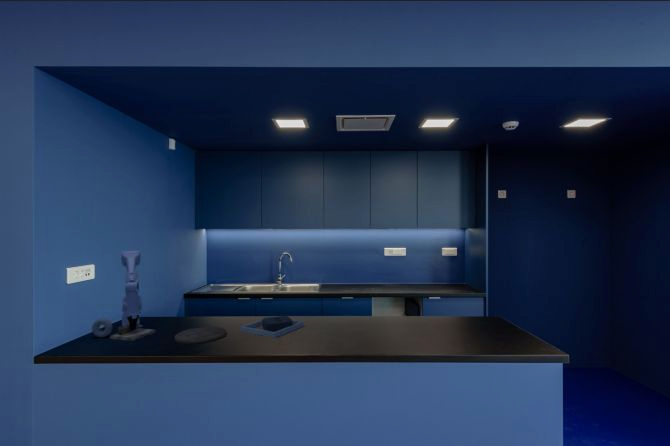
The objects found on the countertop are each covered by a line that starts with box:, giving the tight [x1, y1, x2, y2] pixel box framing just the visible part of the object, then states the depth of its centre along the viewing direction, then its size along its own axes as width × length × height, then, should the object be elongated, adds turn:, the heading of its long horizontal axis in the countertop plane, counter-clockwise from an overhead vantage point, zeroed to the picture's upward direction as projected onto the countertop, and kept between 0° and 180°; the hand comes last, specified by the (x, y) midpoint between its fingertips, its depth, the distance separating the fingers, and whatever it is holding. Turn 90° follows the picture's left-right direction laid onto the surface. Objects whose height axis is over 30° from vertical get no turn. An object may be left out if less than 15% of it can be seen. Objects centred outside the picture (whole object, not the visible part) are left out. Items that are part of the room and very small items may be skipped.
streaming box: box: [261, 315, 293, 332], centre depth 205 cm, size 14×14×5 cm
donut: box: [91, 317, 113, 338], centre depth 197 cm, size 10×4×10 cm, turn 93°
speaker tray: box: [240, 319, 305, 339], centre depth 205 cm, size 24×24×2 cm
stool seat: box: [109, 324, 157, 342], centre depth 198 cm, size 15×15×4 cm
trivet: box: [174, 326, 227, 345], centre depth 194 cm, size 25×25×2 cm
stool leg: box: [117, 322, 140, 335], centre depth 200 cm, size 12×3×4 cm, turn 164°
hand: (133, 329), depth 200 cm, fingers closed, pressing on stool leg
